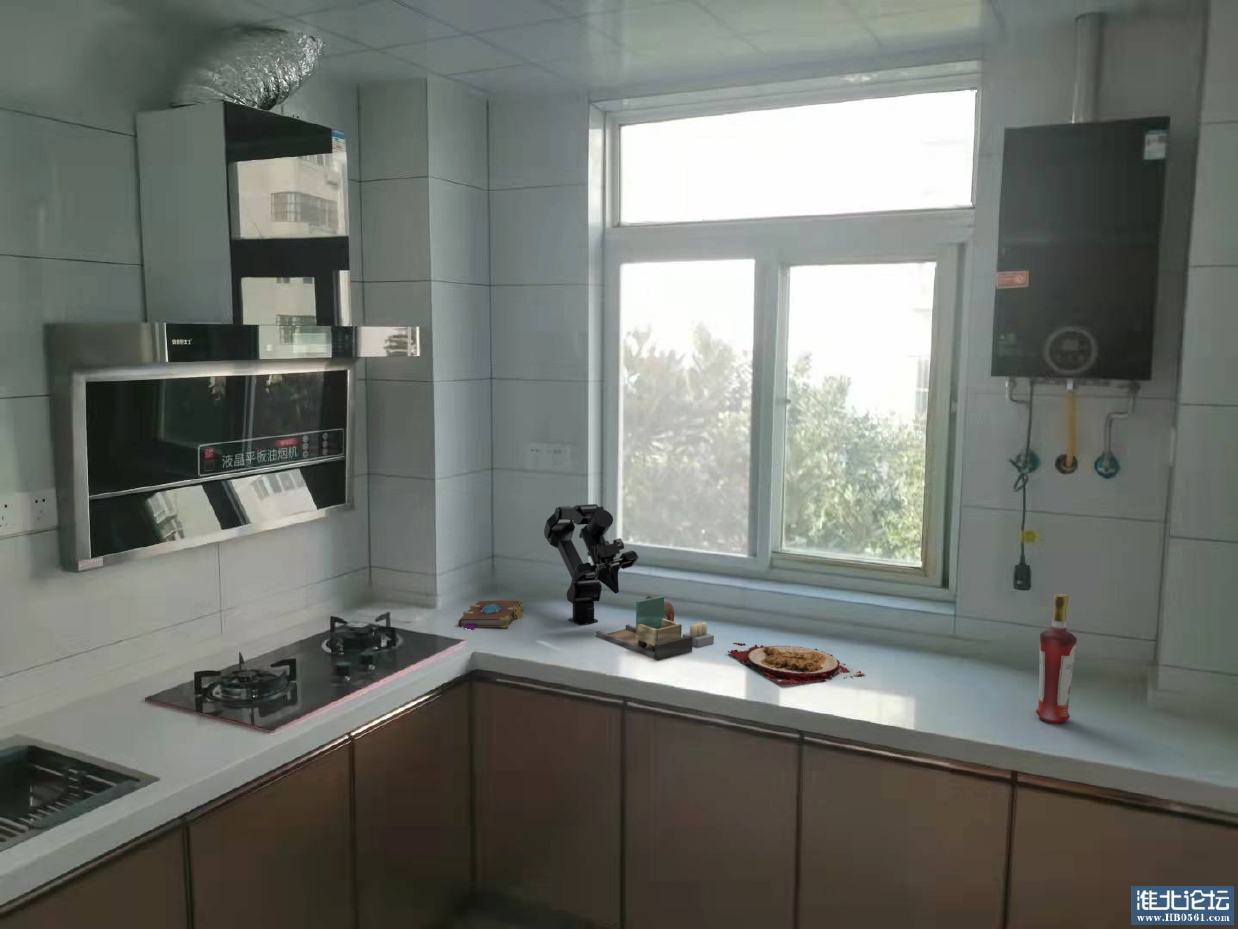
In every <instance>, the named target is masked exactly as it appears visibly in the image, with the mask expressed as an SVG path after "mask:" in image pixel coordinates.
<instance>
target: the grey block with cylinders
mask: <svg viewBox="0 0 1238 929" xmlns="http://www.w3.org/2000/svg"><path fill="white" fill-rule="evenodd" d="M707 628H708V623H707V622H706V621H701V622H696V623H693V624H689V632H685V633H682V637H684V636H688V635H689V636H692V637H693V642H692V647H695V648H702V647H707V646H710V645H714V643H715V641H714V640H715V639H714V638H715V635H713V634H710V633H709V632H708V631H707V630H708V629H707Z"/></svg>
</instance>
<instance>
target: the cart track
mask: <svg viewBox="0 0 1238 929" xmlns="http://www.w3.org/2000/svg"><path fill="white" fill-rule="evenodd" d="M595 637H597V638H600V639H602V640H604V641H608V642H609V643H613V644H615V645H617V646H620V647H622V648H625V649H628V650H629V651H633V652H636V653H637V654H641V655H644V656H646V657H648V658H650V659H653V660H656V661H662V660H665V659H670V658H673V657H677V656H681V655H684V654H685V655H686V654H689V653H692V652H693V646H692V642H693V637H692V636H689V635H688V636H684V637H683V636H681V637H680V638H676V639H672V640H668V641H664V642H660V643H656V644H655V652H653V651H652V646H653V645H651V644H648V643H647V646H646V647H645V648H642V647H640V646H638V641H639V640H637V639H636V626H633V625H631V624H625V629H620V630H615V631H611V632H603V631H601V630H598V631H597V630H596V631H595Z"/></svg>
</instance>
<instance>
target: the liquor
mask: <svg viewBox="0 0 1238 929" xmlns="http://www.w3.org/2000/svg"><path fill="white" fill-rule="evenodd" d="M1053 599H1054V600H1053V606H1054V610H1053V611H1054V612H1053V616H1052V623H1051V628H1049V629H1044V630H1043V631H1042V632H1040V634H1039V664H1038V665H1039V677H1038V678H1039V680H1038V685H1039V686H1038V702H1037V703H1038V704H1037V705H1038V706H1037V708H1036V710H1035V713H1036V715H1038V716H1039V718H1040V720H1042V721H1043V722H1046V721H1047V723H1050V724H1055V723H1059V724H1062V723H1065V721H1067V720H1068V719H1071V717H1070V716H1071V715H1070V714H1069V704H1070V697H1071V696H1070V695H1071V687H1072V686H1071V685H1072V677H1073V673H1074V672H1073V671H1074V664H1075V659H1076V658H1075V657H1076V649H1077V648H1076V647H1077V641H1078V638H1077V637H1076V636H1075V635H1074V634H1073V633H1071V632H1070V631H1068V630H1067V611H1066V610H1067V606H1068V602H1069V596H1068V595H1066V594H1064V593H1063V594H1062V593H1061V594H1060V593H1055V594H1054V598H1053Z"/></svg>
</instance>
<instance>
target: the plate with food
mask: <svg viewBox="0 0 1238 929" xmlns="http://www.w3.org/2000/svg"><path fill="white" fill-rule="evenodd" d="M733 645H736V646H740V647H741V648H742V649H743V648H744V647H743V646H747V645H746V643H744V642H743V643H741V642H733ZM727 651H728V653H730V655H731V657H736V658H737V659H738V662H739V663H744V664H746V665H748V666H749V667H750V668H751V669H752V670H755V668H754V667H753V665H751V664H750V663H749V662H751V663H753V664H755V665H756V666H758V668H759V671H756V672H757V673H759V674H761V675H763V676H764V677H765V678H766V679H767V680H772V681H773V682H775V683H777V684H784V685H792V684H794V683H795V684H800V685H801V684H804V683H805V682H807V683H816V682H821V681H822V682H823V683H826V680H829V681H830V680H831V681H832V680H833V679H834V678H835V677H836V676H838V675H840V674H846V673H847V674H848V673H851V671H850V670H848V668H847V667H844V666H846V664H845V663H843V664H842V665H840V661H839V660H838V659H837V658H835V657H834V656H833V654H830V653H826V652H824V651H820V650H819V649H817V648H813V649H812V648H808V647H802V646H791V645H772V646H771V645H770V646H764V645H762V644H761V645H760V646H758V644H754V646H751V647H748V648H747V650H740V651H739V650H738V649H731V650H730V651H729V650H727ZM839 668H840V669H839ZM838 671H839V672H838ZM864 674H865V672H863V673H862V671H860V670H858V671H857V672H856V673H855V674H853V675H850V676H849V677H850V678H853V676H855V677H857V676H858V677H859V676H862V675H864ZM847 677H848V676H845V679H847ZM778 679H781V680H780V681H779V680H778ZM843 679H844V677H843V678H841V680H843Z"/></svg>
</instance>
